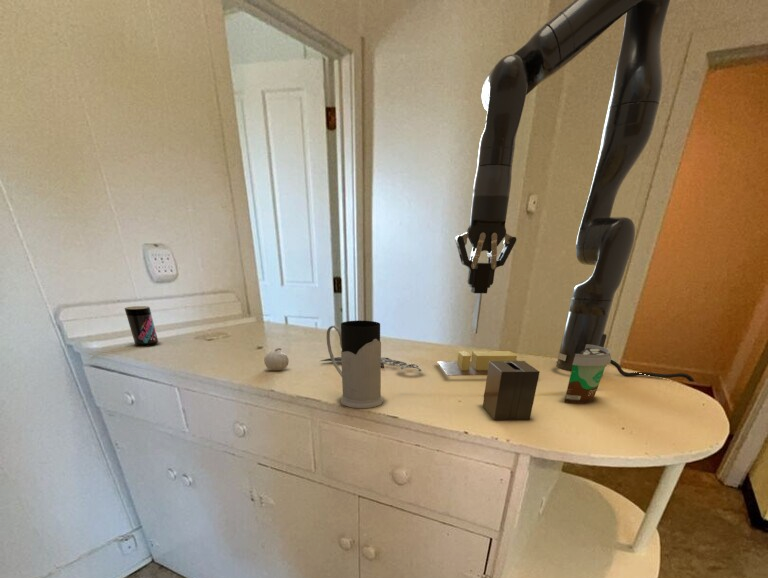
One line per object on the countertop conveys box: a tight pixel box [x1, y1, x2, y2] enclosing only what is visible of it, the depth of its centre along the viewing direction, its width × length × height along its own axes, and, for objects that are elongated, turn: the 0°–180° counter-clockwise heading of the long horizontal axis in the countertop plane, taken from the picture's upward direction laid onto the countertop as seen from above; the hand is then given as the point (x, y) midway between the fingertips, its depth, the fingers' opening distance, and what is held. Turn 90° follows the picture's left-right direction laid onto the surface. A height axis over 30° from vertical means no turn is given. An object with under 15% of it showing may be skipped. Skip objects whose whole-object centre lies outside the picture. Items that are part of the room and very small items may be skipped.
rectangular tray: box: [437, 360, 488, 377], centre depth 109 cm, size 22×14×1 cm, turn 94°
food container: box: [563, 344, 612, 404], centre depth 89 cm, size 12×6×10 cm, turn 148°
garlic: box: [263, 347, 290, 372], centre depth 108 cm, size 6×5×5 cm
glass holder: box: [326, 320, 384, 409], centre depth 86 cm, size 9×14×15 cm, turn 47°
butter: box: [470, 350, 517, 370], centre depth 108 cm, size 10×5×4 cm, turn 94°
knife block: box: [482, 360, 541, 421], centre depth 81 cm, size 7×8×9 cm
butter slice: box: [456, 350, 472, 370], centre depth 107 cm, size 2×5×4 cm, turn 4°
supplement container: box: [124, 305, 159, 347], centre depth 129 cm, size 7×7×10 cm
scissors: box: [320, 356, 423, 372], centre depth 112 cm, size 28×2×10 cm
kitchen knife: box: [470, 262, 491, 334], centre depth 100 cm, size 3×4×15 cm
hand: (479, 287), depth 98 cm, fingers closed on kitchen knife, 3 cm apart
